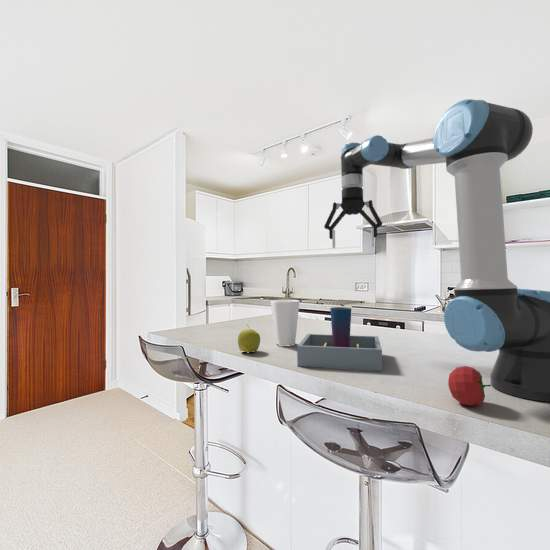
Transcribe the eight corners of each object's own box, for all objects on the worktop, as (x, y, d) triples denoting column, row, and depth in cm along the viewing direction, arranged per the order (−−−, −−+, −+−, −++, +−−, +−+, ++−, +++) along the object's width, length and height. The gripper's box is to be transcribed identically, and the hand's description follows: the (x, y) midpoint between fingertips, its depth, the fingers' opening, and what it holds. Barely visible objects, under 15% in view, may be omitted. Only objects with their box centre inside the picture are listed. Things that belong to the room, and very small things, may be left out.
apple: (233, 352, 112) (236, 323, 115) (240, 353, 119) (243, 326, 122) (255, 353, 110) (257, 323, 113) (261, 354, 117) (263, 327, 120)
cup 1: (303, 346, 124) (303, 301, 124) (278, 349, 120) (278, 302, 120) (291, 340, 134) (290, 299, 134) (268, 343, 131) (267, 300, 130)
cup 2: (352, 356, 104) (351, 309, 104) (330, 355, 105) (329, 309, 105) (351, 351, 111) (351, 307, 111) (331, 350, 112) (330, 307, 112)
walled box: (382, 371, 92) (381, 349, 91) (297, 366, 98) (297, 346, 98) (378, 354, 111) (378, 336, 111) (307, 350, 117) (307, 333, 117)
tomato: (443, 360, 70) (484, 358, 66) (452, 375, 75) (492, 375, 70) (445, 396, 66) (489, 398, 61) (455, 411, 70) (497, 413, 66)
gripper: (387, 188, 119) (388, 247, 119) (318, 193, 125) (319, 249, 125) (389, 183, 112) (390, 245, 112) (316, 188, 118) (317, 247, 118)
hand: (353, 247), depth 118 cm, fingers open, 13 cm apart
